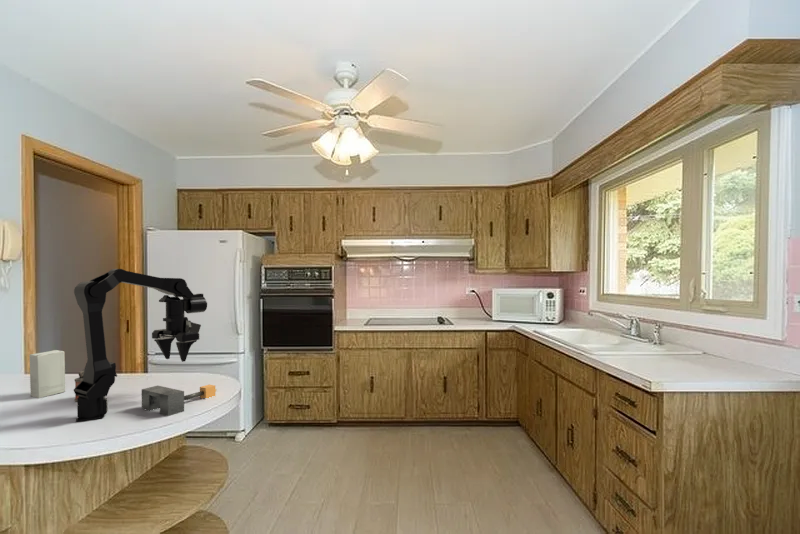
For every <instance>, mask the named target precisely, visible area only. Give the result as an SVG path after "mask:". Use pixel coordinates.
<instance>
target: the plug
mask: <svg viewBox="0 0 800 534" xmlns="http://www.w3.org/2000/svg"><path fill="white" fill-rule="evenodd" d="M216 392H217V388H216V385H214V384H207V385H203V386H200V387H199V391H198V392H197V391H196V392H194V393H190V394H186V395H184V401H187V400H191V399H194V398H198V397H199V398H200V397H201V398H200V399H203V398H208V399H210V398H209V397H211V398H213V397H212V396H215V397H216Z"/></svg>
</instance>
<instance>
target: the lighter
mask: <svg viewBox="0 0 800 534" xmlns="http://www.w3.org/2000/svg"><path fill="white" fill-rule="evenodd" d="M84 369H85V368H83V369H82V370H80V371H78V377H77V378H74V384H75V387H74V389H75V388H76V387H77V385H78V384H79V383H80V382H81V381H82V380H83V376H84ZM74 397H75V398H74V403H77V399H78V397H79V396H76V395H75V394H74Z"/></svg>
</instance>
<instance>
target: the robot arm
mask: <svg viewBox="0 0 800 534" xmlns="http://www.w3.org/2000/svg"><path fill="white" fill-rule="evenodd" d="M120 283H122V284H127V285H128V284H129V285H134V286H139V287H142V288H143V287H144V288H148V289H149V288H150V289H154V290H155V291H158V292H160V293H161V294H164V295H162V297H161V298H159V300H158V302H159V303H165V317H163V318H162V321H163V322H165V328H162V329H154V330H153V331H152V332H151V339H153V341H154V342H155V343H156V345H158V347H159V349H160V351H161V353H162V354H163V357H164V358H165V359H166V360H169V359H170V358H171V357H170V356H171V349H172V343H173V341H174V340H176V342H175V344H176V348H177V351H178V354H179V358H180V360H181V362H186V360H187V358H188V355H189V351H190V350H191V349H190V348H191V347H192V346H193V344H194V343H197V342H198V341H199V340H200V331H201V330H200V329H201V327H202V325H201V324H199V323H196V322H194V321H193V322H192V321H191V320H189V318H188V317H186V316H185V315H186V314H196V313H197V314H198V313H204V312H206V310H207V308H208V302H207V299H206V298H205V297H204V293H196V294H195V293H193V292H192V290H191V289H190V288H189V287H188V283H187V282H186V280H185V279H184V278H181V277H180V278H179V277H177V278H176V277H158V276H152V275H148V274H144V273H139V272H134V271H130V270H129V271H128V270H125V269H123V268H114V269H110V270H108V272H106V273H104V274H101V275H99V276H96V277H95V278H92V279H90V280H87V281H82V282H80V283H78V284H77V285H76V286H74V289H73V293H74V297H75V300H76V303H77V305H78V307H79V308H80V310H81V312H82V315H83V316H82V317H83V327H84V336H85V339H84V340H85V348H86V358H87V360H86V363H85V367H84V368H83V369H84V376H83V380H82V381H81V382H80V383H79V384H78V385H77V387H76V388H75V387H74V388H73V393H74V396H75V395H76V396H79V397H78V399H77V402H76V403H77V405H76V406H77V408H76V409H77V410H76V411H77V412H76V413H77V414H76V415H77V418H76V420H75V422H77V423H78V422H85V421H92V420H97V419H98V420H99V419H103V418H105V416H106V415H107V414H108V397H107V396H108V394H109V391H110V389H111V387H112V386H113V385H114V384H115V382H116V378H117V377H118V374H117V372H116V371H117V370H116V369H117V368H116V367H117V365H116V362H111V361H109V359H108V358H107V349H106V340H105V338H106V337H105V329H104V318H103V309H104V306H105V304H106V299H107V293H109V292H110V291H112V290H113V289H114V288H116V287H117V286H118V285H119V284H120ZM170 295H171V296H170ZM181 298H182V299H181Z"/></svg>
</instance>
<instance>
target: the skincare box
mask: <svg viewBox="0 0 800 534" xmlns="http://www.w3.org/2000/svg"><path fill="white" fill-rule="evenodd" d="M65 355H66V354H65V351H63V350H57V349H53V350H49V351H43V352H36V353H31V354H29V382H30V383H29V384H30V385H29V386H30V387H29V388H30V396H31V397H33V398H37V399H42V398H46V397H49V396H53V395H56V394H57V395H58V394H62V393H65V392H66V369H65V368H66V367H65V366H66V361H65V360H66V359H65Z"/></svg>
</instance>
